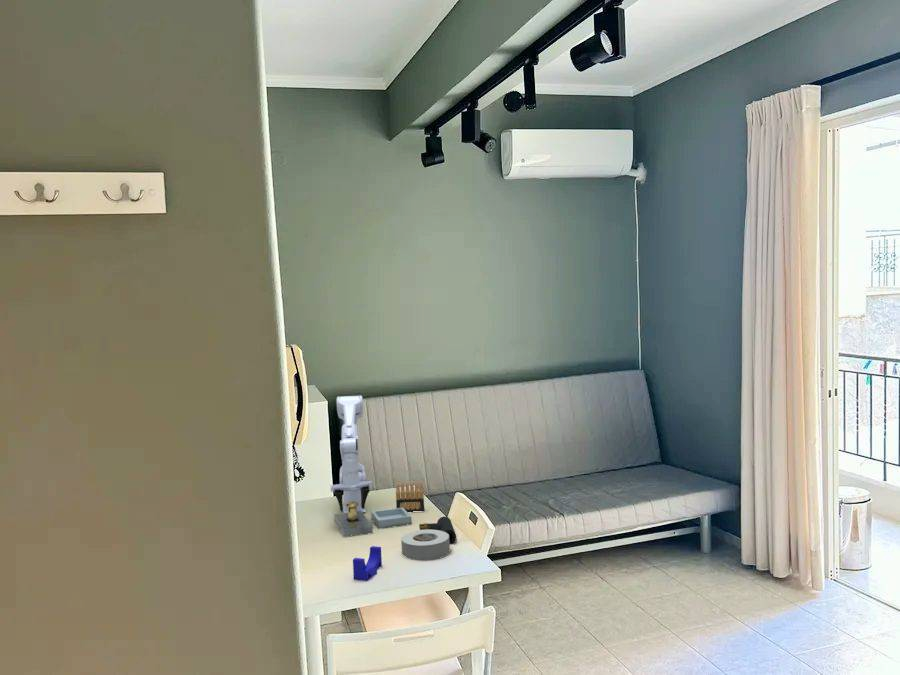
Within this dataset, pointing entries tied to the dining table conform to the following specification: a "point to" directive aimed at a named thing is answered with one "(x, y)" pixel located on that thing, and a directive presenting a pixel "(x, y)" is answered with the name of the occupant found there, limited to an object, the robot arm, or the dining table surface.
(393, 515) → the tray
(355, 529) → the metal plate with hole
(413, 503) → the ammunition clip
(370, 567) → the cable clip
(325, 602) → the dining table surface
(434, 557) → the tape roll
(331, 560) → the dining table surface
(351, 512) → the gold flared cylinder
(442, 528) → the black power drill
